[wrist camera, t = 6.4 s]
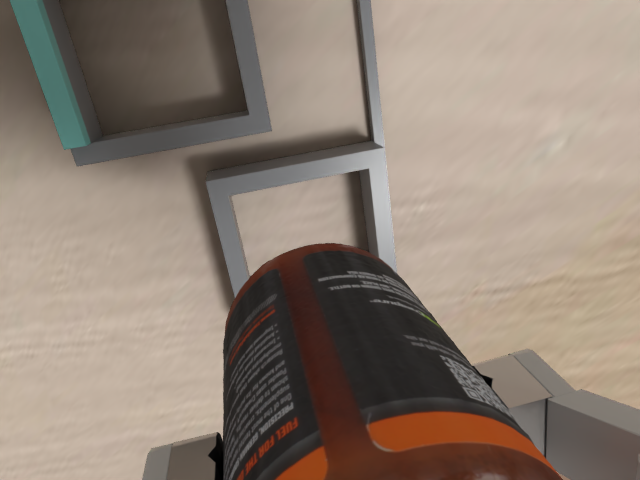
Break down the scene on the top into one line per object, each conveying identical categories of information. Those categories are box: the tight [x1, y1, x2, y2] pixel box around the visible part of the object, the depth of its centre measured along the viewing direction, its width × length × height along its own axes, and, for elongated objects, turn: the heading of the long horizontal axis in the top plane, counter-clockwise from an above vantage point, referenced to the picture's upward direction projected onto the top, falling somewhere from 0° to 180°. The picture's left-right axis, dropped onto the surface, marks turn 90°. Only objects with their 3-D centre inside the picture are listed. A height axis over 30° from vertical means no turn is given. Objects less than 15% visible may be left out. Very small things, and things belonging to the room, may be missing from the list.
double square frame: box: [10, 0, 397, 298], centre depth 25 cm, size 17×22×3 cm
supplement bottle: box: [223, 243, 563, 480], centre depth 10 cm, size 6×6×11 cm
